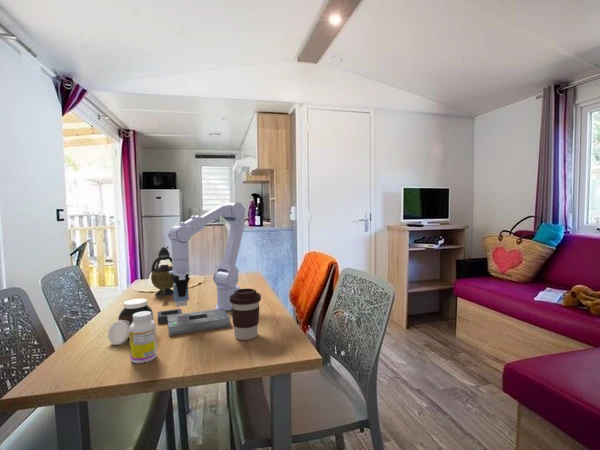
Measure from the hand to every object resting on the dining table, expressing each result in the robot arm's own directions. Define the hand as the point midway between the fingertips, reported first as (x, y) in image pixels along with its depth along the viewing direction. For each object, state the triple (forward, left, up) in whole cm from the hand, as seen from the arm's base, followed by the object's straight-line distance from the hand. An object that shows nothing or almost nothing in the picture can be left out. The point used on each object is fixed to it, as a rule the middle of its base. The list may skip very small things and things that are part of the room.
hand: (181, 295), depth 119 cm
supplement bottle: (+12, +26, -10) cm, 30 cm away
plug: (0, 0, -4) cm, 4 cm away
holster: (+4, -5, -10) cm, 12 cm away
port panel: (-5, +6, -10) cm, 13 cm away
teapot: (+5, -40, -10) cm, 42 cm away
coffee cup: (-18, +23, -10) cm, 31 cm away
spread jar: (+16, +9, -10) cm, 21 cm away
